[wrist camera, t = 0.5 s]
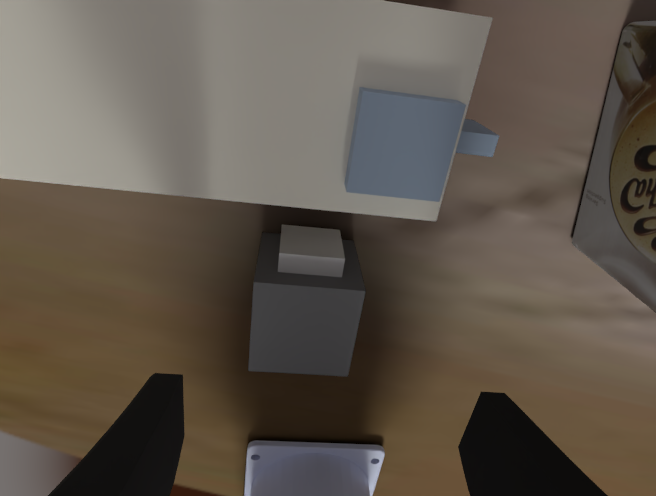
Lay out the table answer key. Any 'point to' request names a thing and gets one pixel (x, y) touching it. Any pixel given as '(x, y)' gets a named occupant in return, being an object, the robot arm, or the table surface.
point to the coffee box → (625, 171)
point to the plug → (305, 302)
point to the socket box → (243, 99)
